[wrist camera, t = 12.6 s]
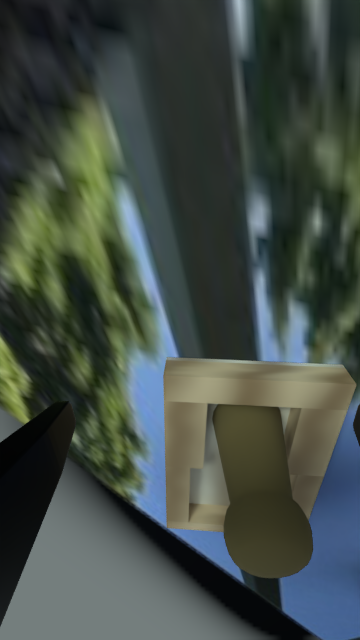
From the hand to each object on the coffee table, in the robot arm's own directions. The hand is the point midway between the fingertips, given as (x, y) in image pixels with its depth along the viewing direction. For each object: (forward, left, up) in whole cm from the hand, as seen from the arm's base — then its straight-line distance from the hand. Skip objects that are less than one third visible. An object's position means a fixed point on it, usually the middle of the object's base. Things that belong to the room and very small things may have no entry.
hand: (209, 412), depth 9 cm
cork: (-4, +13, -13) cm, 19 cm away
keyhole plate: (-4, +17, -13) cm, 22 cm away
